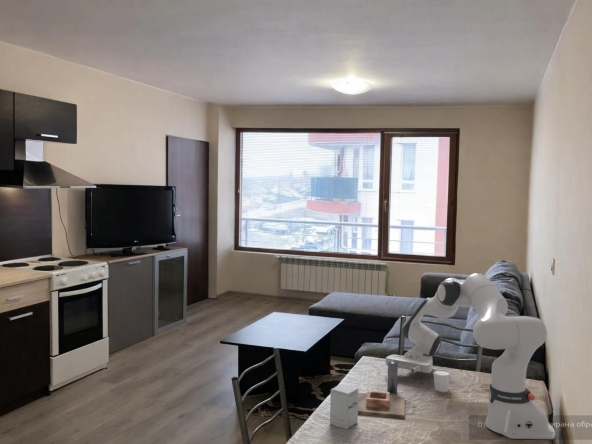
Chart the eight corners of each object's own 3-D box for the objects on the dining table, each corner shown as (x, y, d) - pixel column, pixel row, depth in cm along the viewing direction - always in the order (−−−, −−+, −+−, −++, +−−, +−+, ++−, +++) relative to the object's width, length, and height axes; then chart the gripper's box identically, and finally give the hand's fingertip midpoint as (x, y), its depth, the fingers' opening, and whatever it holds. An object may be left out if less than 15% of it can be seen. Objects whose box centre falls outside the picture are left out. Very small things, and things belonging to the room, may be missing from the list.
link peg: (397, 390, 222) (398, 361, 221) (397, 393, 218) (397, 364, 217) (387, 389, 223) (388, 360, 222) (387, 392, 219) (387, 363, 218)
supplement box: (347, 429, 184) (347, 393, 183) (329, 424, 188) (329, 388, 188) (358, 422, 190) (359, 387, 189) (340, 417, 194) (341, 383, 194)
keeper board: (404, 399, 211) (404, 389, 211) (404, 418, 194) (404, 407, 194) (353, 395, 215) (354, 385, 215) (349, 413, 198) (349, 402, 198)
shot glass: (452, 392, 220) (452, 375, 219) (435, 392, 220) (435, 375, 219) (447, 386, 226) (448, 370, 226) (431, 386, 227) (431, 370, 226)
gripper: (391, 349, 247) (380, 357, 235) (435, 356, 236) (425, 365, 224) (391, 362, 247) (379, 371, 235) (435, 371, 236) (425, 380, 225)
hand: (402, 368), depth 230 cm, fingers open, 8 cm apart
